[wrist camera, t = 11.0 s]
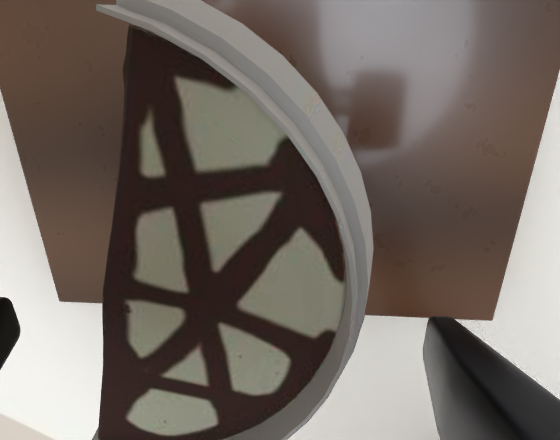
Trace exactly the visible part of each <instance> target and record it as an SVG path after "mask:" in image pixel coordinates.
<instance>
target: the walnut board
mask: <svg viewBox="0 0 560 440" xmlns="http://www.w3.org/2000/svg"><path fill="white" fill-rule="evenodd" d="M201 1H203V2H205V3H206V4H208V5H210V6H212V7H214V8H215V9H217V10H219V11H221V12H222V13H224V14H226V15H228V16H230V17H231V18H233V19H235V20H237V21H239V22H240V23H242V24H243V25H245V26H246V27H247V28H249V29H250V30H251V31H252V32H254V33H255V34H256V35H257V36H259V37H260V38H261V39H262V40H264V41H265V42H266V43H267V44H269V45H270V46H271V47H273V48H274V49H275V50H276V51H278V52H279V53H280V54H281V55H283V56H284V57H285V58H286V60H287V61H288V62H289V63H290V64H291V65H292V66H293V67H294V68H295V69H296V70H297V72H298V73H299V74H300V75H301V76H302V77H303V78H304V79H305V80H306V81H307V82H308V83H309V85H310V86H311V87H312V88H313V89H314V90H315V91H316V92H317V93H318V95H319V96H320V98H321V99H322V101H323V103H324V104H325V106H326V107H327V109H328V110H329V112H330V113H331V115H332V116H333V118H334V119H335V121H336V122H337V124H338V125H339V127H340V128H341V130H342V131H343V133H344V135H345V138H346V140H347V142H348V144H349V147H350V149H351V151H352V153H353V156H354V158H355V160H356V162H357V165H358V167H359V169H360V171H361V175H362V179H363V182H364V186H365V190H366V194H367V198H368V202H369V206H370V210H371V220H372V234H373V248H374V249H373V258H372V267H371V276H370V284H369V291H368V297H367V303H366V309H365V315H376V316H399V317H421V318H430V317H432V316H446V317H452V318H453V319H466V320H489V321H492V320H493V316H494V312H495V309H496V305H497V301H498V298H499V294H500V290H501V286H502V283H503V279H504V275H505V271H506V268H507V264H508V260H509V256H510V253H511V249H512V245H513V242H514V238H515V234H516V230H517V227H518V223H519V219H520V215H521V212H522V208H523V204H524V201H525V197H526V193H527V189H528V186H529V182H530V178H531V174H532V171H533V167H534V163H535V159H536V156H537V152H538V148H539V145H540V141H541V137H542V133H543V130H544V126H545V122H546V118H547V115H548V111H549V107H550V103H551V100H552V96H553V92H554V89H555V85H556V81H557V77H558V74H559V70H560V0H201ZM96 4H101V5H116V0H0V89H1V93H2V96H3V100H4V104H5V107H6V111H7V114H8V118H9V122H10V125H11V129H12V132H13V136H14V140H15V143H16V147H17V150H18V154H19V158H20V161H21V165H22V168H23V172H24V176H25V179H26V183H27V186H28V190H29V194H30V197H31V201H32V204H33V208H34V211H35V215H36V219H37V222H38V226H39V229H40V233H41V237H42V240H43V244H44V247H45V251H46V255H47V258H48V262H49V265H50V269H51V273H52V276H53V280H54V283H55V287H56V291H57V294H58V298H59V301H62V302H85V303H103V285H104V278H105V270H106V262H107V254H108V248H109V241H110V234H111V228H112V221H113V213H114V204H115V195H116V186H117V178H118V168H119V157H120V146H121V135H122V124H123V108H124V80H123V64H124V60H125V55H126V45H127V34H128V27H129V24H131V23H129V22H126V21H123V20H121V19H118V18H115V17H112V16H110V15H107V14H104V13H102V12H99V11H96Z"/></svg>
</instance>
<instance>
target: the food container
mask: <svg viewBox="0 0 560 440" xmlns="http://www.w3.org/2000/svg"><path fill="white" fill-rule="evenodd" d="M96 11H99V12H102V13H104V14H107V15H110V16H112V17H115V18H118V19H121V20H123V21H126V22H129V23H131V24H129V27H128V34H127V45H126V55H125V60H124V64H123V80H124V108H123V124H122V135H121V146H120V157H119V168H118V178H117V186H116V195H115V204H114V213H113V221H112V228H111V234H110V241H109V248H108V254H107V262H106V270H105V278H104V285H103V375H102V389H101V403H100V416H99V427H98V429H97V431H96V433H95V435H94V437H93V439H92V440H287V439H288V438H289V437H291V436H292V435H293V434H294V433H295V432H296V431H298V430H299V429H300V428H301V427H302V426H303V425H305V424H306V423H307V422H308V421H309V420H310V419H311V418H312V416H313V415H314V414H315V413H316V411H317V410H318V409H319V408H320V407H321V405H322V404H323V403H324V402H325V400H326V399H327V398H328V396H329V395H330V393H331V391H332V389H333V387H334V385H335V383H336V382H337V380H338V379H339V377H340V375H341V373H342V371H343V369H344V368H345V366H346V364H347V362H348V360H349V358H350V357H351V355H352V353H353V351H354V348H355V345H356V342H357V339H358V336H359V332H360V329H361V326H362V323H363V320H364V315H365V309H366V303H367V297H368V291H369V284H370V276H371V267H372V258H373V249H374V248H373V234H372V220H371V210H370V206H369V202H368V198H367V194H366V190H365V186H364V182H363V179H362V175H361V171H360V169H359V167H358V165H357V162H356V160H355V158H354V156H353V153H352V151H351V149H350V147H349V144H348V142H347V140H346V138H345V135H344V133H343V131H342V130H341V128H340V127H339V125H338V124H337V122H336V121H335V119H334V118H333V116H332V115H331V113H330V112H329V110H328V109H327V107H326V106H325V104H324V103H323V101H322V99H321V98H320V96H319V95H318V93H317V92H316V91H315V90H314V89H313V88H312V87H311V86H310V85H309V83H308V82H307V81H306V80H305V79H304V78H303V77H302V76H301V75H300V74H299V73H298V72H297V70H296V69H295V68H294V67H293V66H292V65H291V64H290V63H289V62H288V61H287V60H286V58H285V57H284V56H283V55H281V54H280V53H279V52H278V51H276V50H275V49H274V48H273V47H271V46H270V45H269V44H267V43H266V42H265V41H264V40H262V39H261V38H260V37H259V36H257V35H256V34H255V33H254V32H252V31H251V30H250V29H249V28H247V27H246V26H245V25H243V24H242V23H240V22H239V21H237V20H235V19H233V18H231V17H230V16H228V15H226V14H224V13H222V12H221V11H219V10H217V9H215V8H214V7H212V6H210V5H208V4H206V3H205V2H203V1H201V0H116V5H101V4H96Z"/></svg>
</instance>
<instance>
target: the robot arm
mask: <svg viewBox="0 0 560 440" xmlns="http://www.w3.org/2000/svg"><path fill="white" fill-rule="evenodd" d="M19 336H20V325H19V322H18V319H17V316H16V313H15V310H14V307H13V304H12V302H11V301H10V300H9V299H8V298H5V297H0V370H1V368H2V366H3V364H4V363H5V361H6V359H7V358H8V356H9V354H10V352H11V351H12V349H13V347H14V346H15V344H16V342H17V340H18V338H19ZM423 360H424V365H425V370H426V375H427V380H428V385H429V390H430V395H431V400H432V405H433V410H434V415H435V420H436V425H437V429H438V433H439V437H440V440H560V400H559V399H558V398H557V397H555V396H554V395H553V394H551V393H550V392H549V391H547V390H546V389H545V388H543V387H542V386H541V385H540V384H538V383H537V382H536V381H534V380H533V379H532V378H530V377H529V376H528V375H526V374H525V373H524V372H523V371H521V370H520V369H519V368H517V367H516V366H515V365H513V364H512V363H511V362H509V361H508V360H507V359H506V358H504V357H503V356H502V355H500V354H499V353H498V352H496V351H495V350H494V349H493V348H491V347H490V346H489V345H487V344H486V343H485V342H483V341H482V340H481V339H479V338H478V337H477V336H476V335H474V334H473V333H472V332H470V331H469V330H468V329H466V328H465V327H464V326H462V325H461V324H460V323H459V322H457V321H456V320H455V319H453V318H452V317H446V316H432V317H430V318H429V320H428V323H427V329H426V334H425V340H424V345H423Z"/></svg>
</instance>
